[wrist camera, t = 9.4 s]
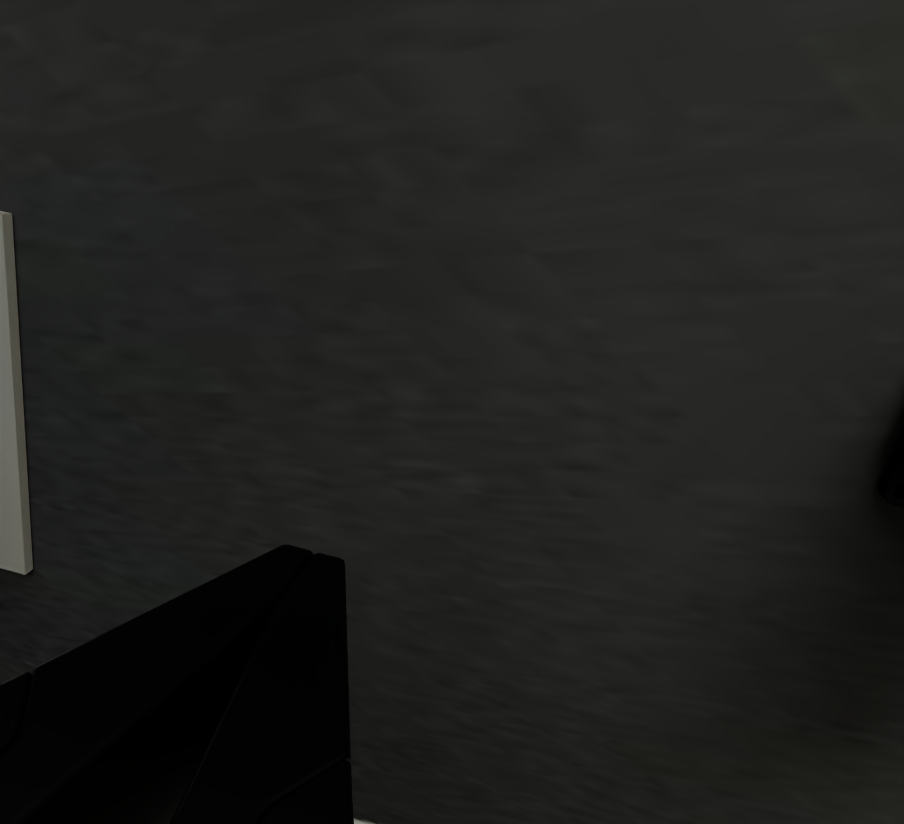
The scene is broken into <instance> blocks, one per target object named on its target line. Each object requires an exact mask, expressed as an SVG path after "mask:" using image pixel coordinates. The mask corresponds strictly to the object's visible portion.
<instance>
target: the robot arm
mask: <svg viewBox="0 0 904 824" xmlns="http://www.w3.org/2000/svg"><path fill="white" fill-rule="evenodd" d="M899 441H900V443H899V445H898V447H897V449H896V451H895V453H894V455H893V456H892V458H891V460H890V462H889V464H888V466H887V468H886V470H885V471H884V473H883V475H882V477H881V479H880V481H879V484H878V491H879V493H880V495H881V496H882V497H883V498H884V499H885V500H886V501H887V502H888V503H890V504H892V505H894V506H898V507H902V508H904V489H903V490H902V491H900V492H897V493H893V492H894V489H895V488H896V487H897V486H898V485H901V484H904V430H903V432H902V434H901V435H900V438H899ZM350 758H351V755H350V720H349V685H348V651H347V616H346V581H345V562H344V560H343V559H341V558H337V557H333V556H329V555H326V554H322V553H317V554H314V555H313V553H312V552H311V551H310V550H306V549H303V548H299V547H295V546H291V545H282V546H279V547H277V548H275V549H273V550H271V551H269V552H267V553H265V554H263V555H261V556H259V557H257V558H255V559H253V560H251V561H249V562H247V563H245V564H243V565H241V566H239V567H237V568H235V569H233V570H231V571H229V572H227V573H225V574H223V575H221V576H219V577H217V578H215V579H213V580H211V581H209V582H207V583H205V584H203V585H201V586H199V587H197V588H194V589H192V590H190V591H188V592H186V593H184V594H182V595H180V596H178V597H176V598H174V599H172V600H170V601H168V602H166V603H164V604H162V605H160V606H158V607H156V608H154V609H152V610H150V611H148V612H146V613H144V614H142V615H140V616H138V617H136V618H134V619H132V620H130V621H128V622H126V623H124V624H122V625H120V626H118V627H116V628H114V629H112V630H110V631H108V632H105V633H103V634H101V635H99V636H97V637H95V638H93V639H91V640H89V641H87V642H85V643H83V644H81V645H79V646H77V647H75V648H73V649H71V650H69V651H67V652H65V653H63V654H61V655H59V656H57V657H55V658H53V659H51V660H49V661H47V662H45V663H43V664H41V665H39V666H37V667H35V668H34V669H33V671H32V675H31V673H30V672H24V673H22V674H20V675H18V676H16V677H14V678H12V679H10V680H8V681H6V682H4V683H2V684H0V824H354V819H353V804H352V778H351V764H350Z"/></svg>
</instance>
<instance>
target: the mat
mask: <svg viewBox="0 0 904 824" xmlns="http://www.w3.org/2000/svg"><path fill="white" fill-rule="evenodd" d="M0 568H2V569H5V570H9V571H13V572H17V573H20V574H24V575H26V574H27V573H28V572H30V571H31V570H32V569H33V560H32V543H31V526H30V509H29V492H28V475H27V458H26V441H25V424H24V407H23V390H22V373H21V356H20V339H19V322H18V305H17V288H16V271H15V254H14V238H13V221H12V214H11V213H7V212H3V211H0Z"/></svg>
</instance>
